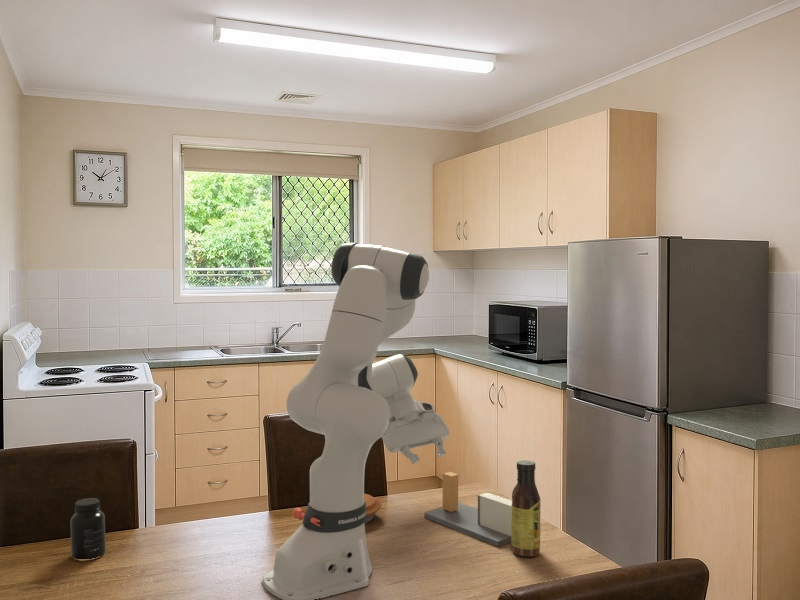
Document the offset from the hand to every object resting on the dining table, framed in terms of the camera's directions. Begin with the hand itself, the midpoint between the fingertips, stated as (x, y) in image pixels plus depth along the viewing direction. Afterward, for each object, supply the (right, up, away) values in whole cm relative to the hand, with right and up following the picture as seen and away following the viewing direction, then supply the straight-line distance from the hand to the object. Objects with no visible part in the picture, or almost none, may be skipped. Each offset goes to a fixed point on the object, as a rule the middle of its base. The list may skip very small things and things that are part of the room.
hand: (429, 458), depth 178 cm
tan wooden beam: (+5, -11, -5) cm, 14 cm away
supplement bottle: (-75, -15, -29) cm, 82 cm away
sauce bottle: (+20, -14, -27) cm, 37 cm away
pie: (-20, -13, -7) cm, 25 cm away
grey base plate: (+11, -13, -12) cm, 21 cm away
